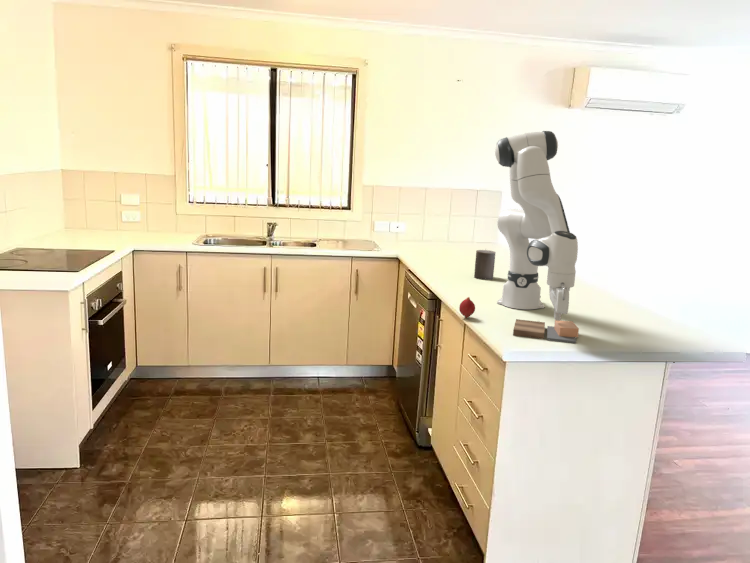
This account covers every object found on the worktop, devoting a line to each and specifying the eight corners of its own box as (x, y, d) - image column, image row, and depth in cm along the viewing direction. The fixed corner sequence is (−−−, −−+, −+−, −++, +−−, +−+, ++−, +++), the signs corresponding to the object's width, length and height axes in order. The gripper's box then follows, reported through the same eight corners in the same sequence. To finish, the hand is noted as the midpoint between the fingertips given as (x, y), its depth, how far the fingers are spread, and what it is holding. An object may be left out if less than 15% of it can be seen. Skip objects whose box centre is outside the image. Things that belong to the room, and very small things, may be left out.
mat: (547, 328, 200) (547, 325, 199) (574, 331, 197) (574, 328, 197) (546, 340, 186) (547, 337, 185) (575, 343, 183) (575, 341, 183)
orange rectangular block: (554, 328, 196) (554, 320, 196) (571, 329, 196) (572, 321, 195) (559, 336, 188) (560, 327, 187) (577, 337, 187) (578, 328, 186)
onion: (456, 317, 209) (457, 297, 207) (462, 314, 214) (464, 294, 212) (470, 320, 206) (472, 299, 204) (476, 317, 211) (478, 296, 209)
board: (515, 324, 203) (516, 319, 202) (544, 327, 200) (544, 322, 199) (512, 335, 190) (513, 329, 189) (543, 338, 187) (544, 333, 186)
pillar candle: (472, 278, 283) (475, 249, 280) (475, 275, 292) (477, 246, 289) (492, 280, 281) (495, 251, 277) (494, 277, 290) (496, 248, 286)
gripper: (575, 287, 178) (571, 329, 181) (566, 274, 198) (562, 312, 201) (554, 286, 179) (550, 327, 182) (547, 273, 199) (544, 311, 202)
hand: (557, 319), depth 192 cm, fingers closed
